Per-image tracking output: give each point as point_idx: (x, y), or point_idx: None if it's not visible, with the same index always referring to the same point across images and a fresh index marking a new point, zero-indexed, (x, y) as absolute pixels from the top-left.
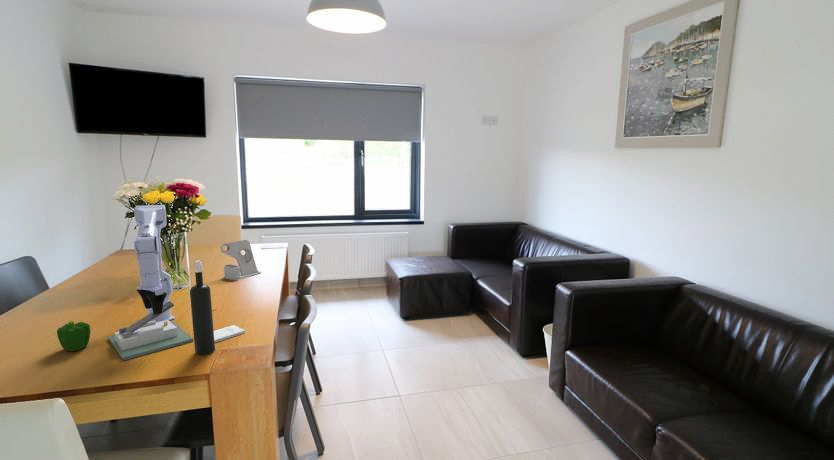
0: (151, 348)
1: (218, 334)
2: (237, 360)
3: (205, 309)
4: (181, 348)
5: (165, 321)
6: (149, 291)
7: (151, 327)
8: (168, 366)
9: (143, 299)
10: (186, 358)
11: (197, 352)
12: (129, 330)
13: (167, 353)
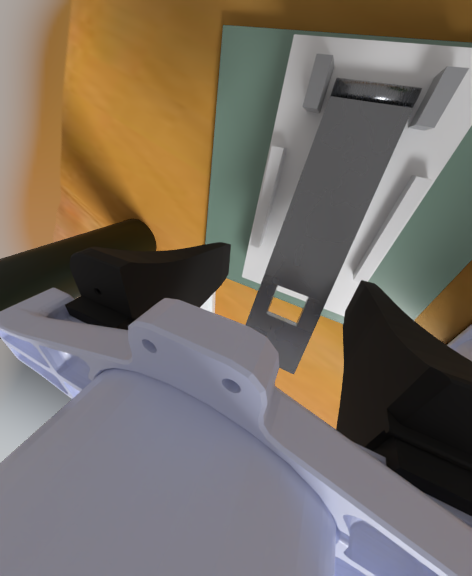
0: (223, 159)
1: None
2: None
3: None
4: (187, 223)
5: None
6: (357, 411)
7: None
8: (110, 138)
9: (381, 317)
10: (129, 194)
11: (126, 220)
12: (342, 116)
13: (182, 182)
